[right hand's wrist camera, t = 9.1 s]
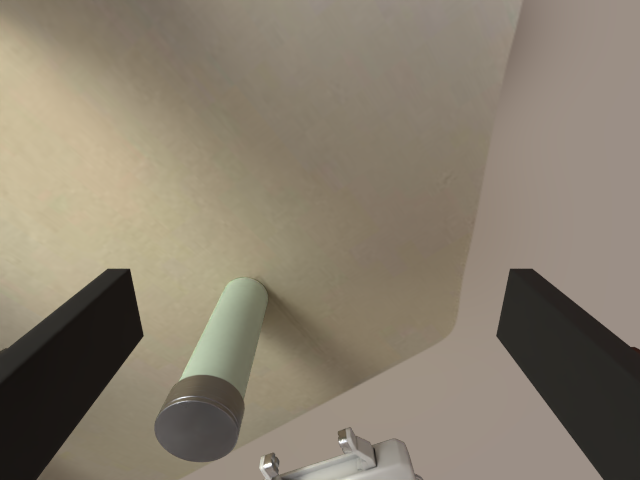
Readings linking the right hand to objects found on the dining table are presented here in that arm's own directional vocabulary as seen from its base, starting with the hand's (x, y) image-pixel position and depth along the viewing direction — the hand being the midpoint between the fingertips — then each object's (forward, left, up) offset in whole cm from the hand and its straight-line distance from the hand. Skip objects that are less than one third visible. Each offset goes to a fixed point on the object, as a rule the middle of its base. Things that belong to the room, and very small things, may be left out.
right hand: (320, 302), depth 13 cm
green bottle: (-9, -13, -24) cm, 29 cm away
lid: (-9, -13, -7) cm, 17 cm away
